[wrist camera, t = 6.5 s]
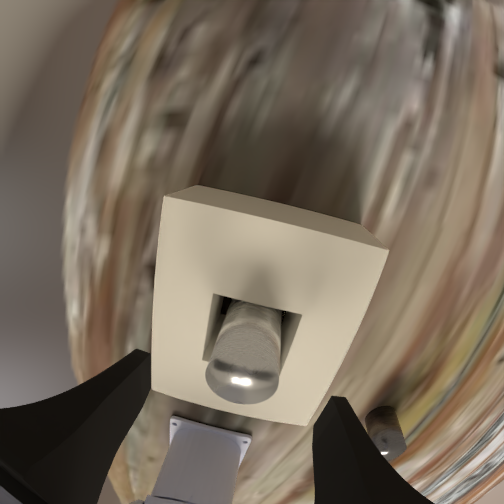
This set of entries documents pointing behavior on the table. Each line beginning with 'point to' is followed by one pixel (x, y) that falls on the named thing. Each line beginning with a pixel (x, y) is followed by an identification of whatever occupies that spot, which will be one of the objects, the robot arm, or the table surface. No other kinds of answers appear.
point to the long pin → (246, 354)
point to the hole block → (258, 293)
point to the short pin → (385, 432)
